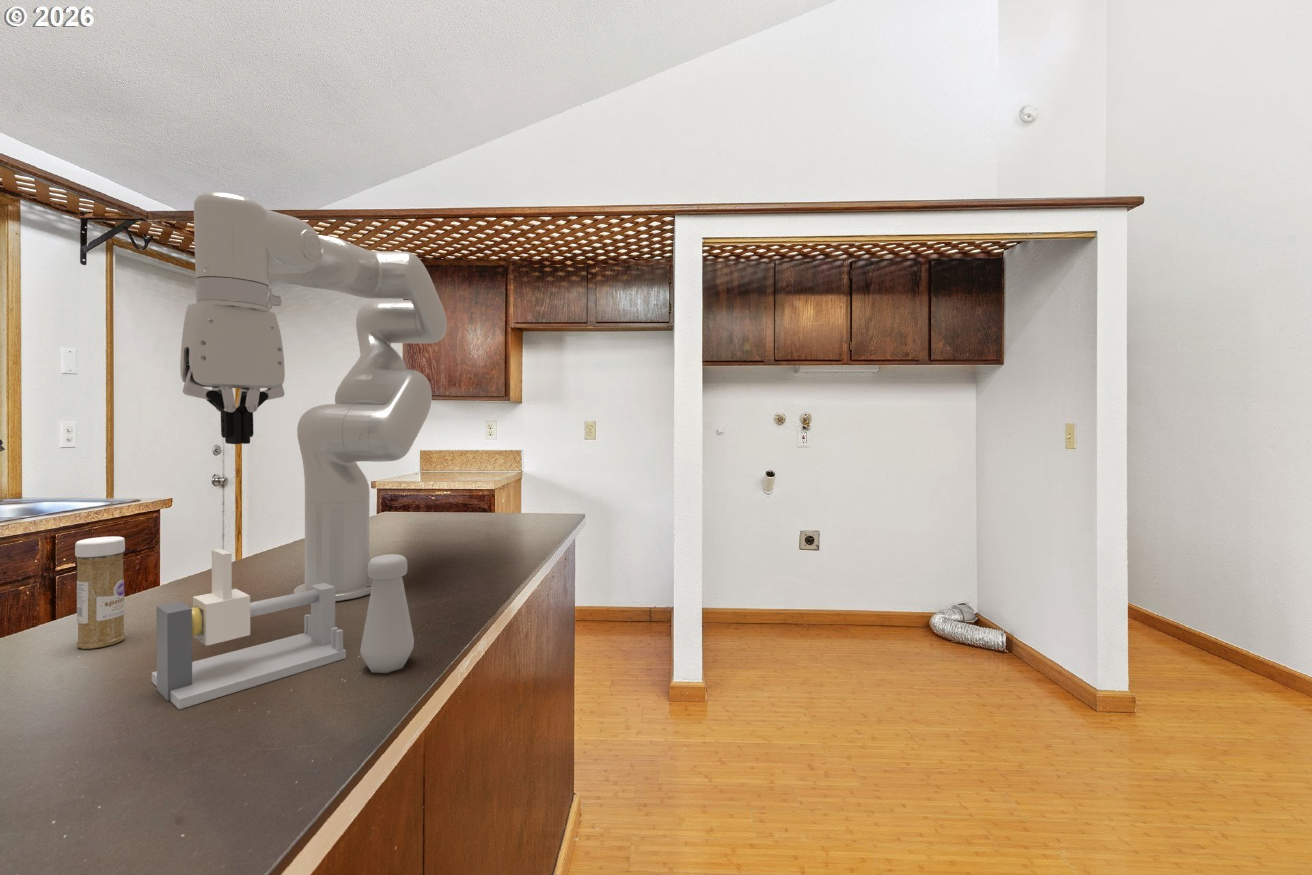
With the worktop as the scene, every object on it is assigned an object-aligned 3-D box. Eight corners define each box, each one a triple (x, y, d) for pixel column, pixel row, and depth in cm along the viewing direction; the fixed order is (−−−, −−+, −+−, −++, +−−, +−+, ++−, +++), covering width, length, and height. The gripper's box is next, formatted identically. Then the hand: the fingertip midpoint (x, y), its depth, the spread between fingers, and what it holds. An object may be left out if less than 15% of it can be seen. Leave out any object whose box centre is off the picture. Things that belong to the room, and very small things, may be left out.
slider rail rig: (312, 638, 76) (312, 570, 76) (348, 657, 70) (348, 583, 70) (149, 682, 62) (148, 600, 62) (176, 710, 56) (176, 619, 56)
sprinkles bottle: (121, 645, 73) (120, 539, 72) (70, 652, 70) (70, 543, 70) (129, 634, 76) (128, 534, 76) (81, 640, 74) (80, 537, 74)
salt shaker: (362, 659, 69) (362, 552, 69) (413, 652, 71) (414, 549, 71) (358, 679, 64) (358, 563, 63) (414, 671, 66) (414, 559, 66)
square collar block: (236, 626, 66) (235, 545, 66) (250, 634, 64) (250, 551, 64) (193, 636, 63) (192, 551, 63) (206, 645, 61) (205, 557, 60)
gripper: (284, 310, 81) (287, 440, 81) (147, 291, 68) (152, 444, 69) (311, 305, 76) (313, 442, 77) (170, 284, 64) (175, 447, 65)
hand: (237, 443), depth 73 cm, fingers closed
